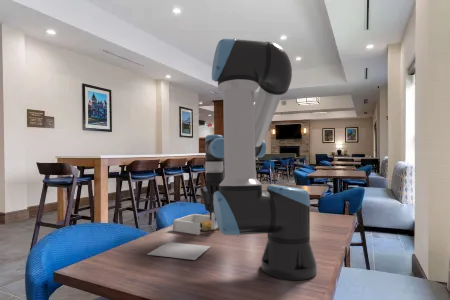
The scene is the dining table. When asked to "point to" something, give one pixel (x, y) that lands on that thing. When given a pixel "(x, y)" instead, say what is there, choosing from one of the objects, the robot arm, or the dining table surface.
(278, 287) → the dining table surface
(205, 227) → the pastry
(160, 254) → the paper stack
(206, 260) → the dining table surface
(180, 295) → the dining table surface
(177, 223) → the box
